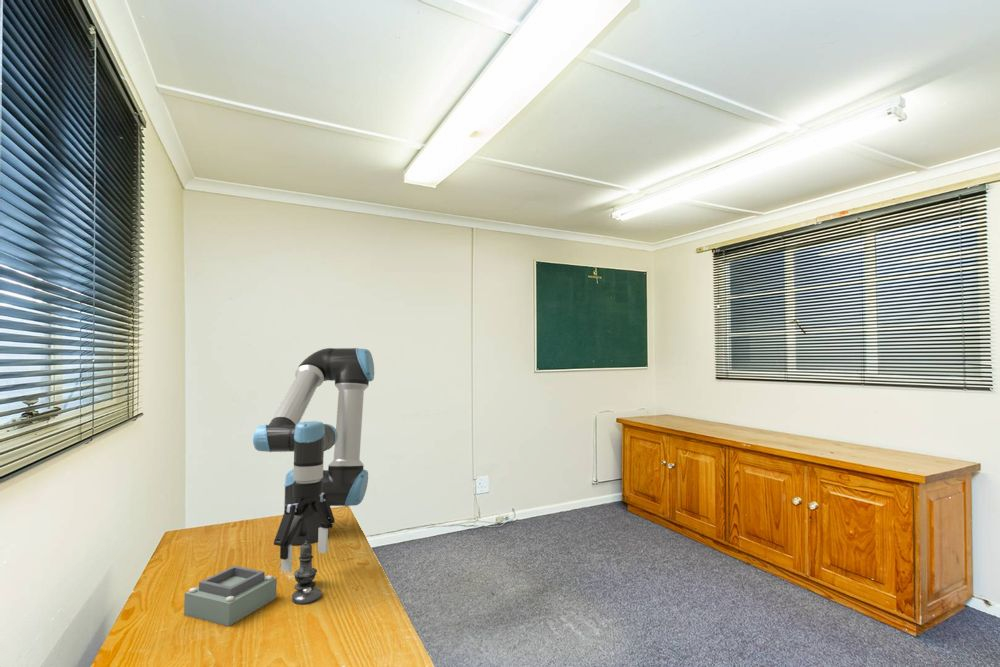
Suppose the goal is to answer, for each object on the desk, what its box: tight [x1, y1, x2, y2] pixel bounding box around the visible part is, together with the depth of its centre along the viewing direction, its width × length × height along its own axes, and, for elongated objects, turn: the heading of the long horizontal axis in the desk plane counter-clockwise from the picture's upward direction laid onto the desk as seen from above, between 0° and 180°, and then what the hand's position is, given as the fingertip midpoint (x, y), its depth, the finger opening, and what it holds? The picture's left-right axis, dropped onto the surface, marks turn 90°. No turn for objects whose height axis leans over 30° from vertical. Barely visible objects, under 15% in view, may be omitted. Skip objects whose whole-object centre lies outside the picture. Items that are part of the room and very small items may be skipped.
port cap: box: [291, 586, 323, 605], centre depth 125 cm, size 7×7×2 cm
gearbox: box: [183, 565, 278, 627], centre depth 121 cm, size 14×16×7 cm
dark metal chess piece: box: [293, 540, 318, 591], centre depth 131 cm, size 6×6×12 cm
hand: (305, 561), depth 131 cm, fingers open, 13 cm apart
